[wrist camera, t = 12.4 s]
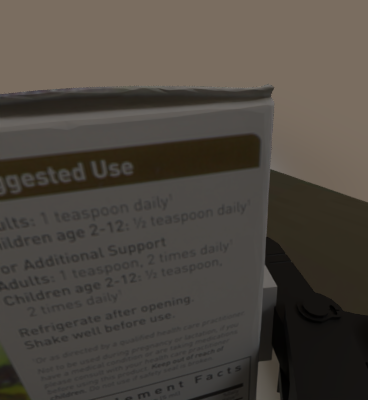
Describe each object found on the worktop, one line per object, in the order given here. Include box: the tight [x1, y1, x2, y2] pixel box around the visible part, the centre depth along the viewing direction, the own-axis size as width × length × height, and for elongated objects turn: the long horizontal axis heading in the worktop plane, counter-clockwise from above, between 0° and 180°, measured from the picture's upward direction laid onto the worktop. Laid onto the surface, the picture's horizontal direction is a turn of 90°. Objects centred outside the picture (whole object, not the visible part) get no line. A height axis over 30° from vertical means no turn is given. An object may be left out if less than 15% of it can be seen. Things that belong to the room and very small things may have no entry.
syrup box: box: [0, 84, 274, 400], centre depth 8 cm, size 6×6×14 cm
